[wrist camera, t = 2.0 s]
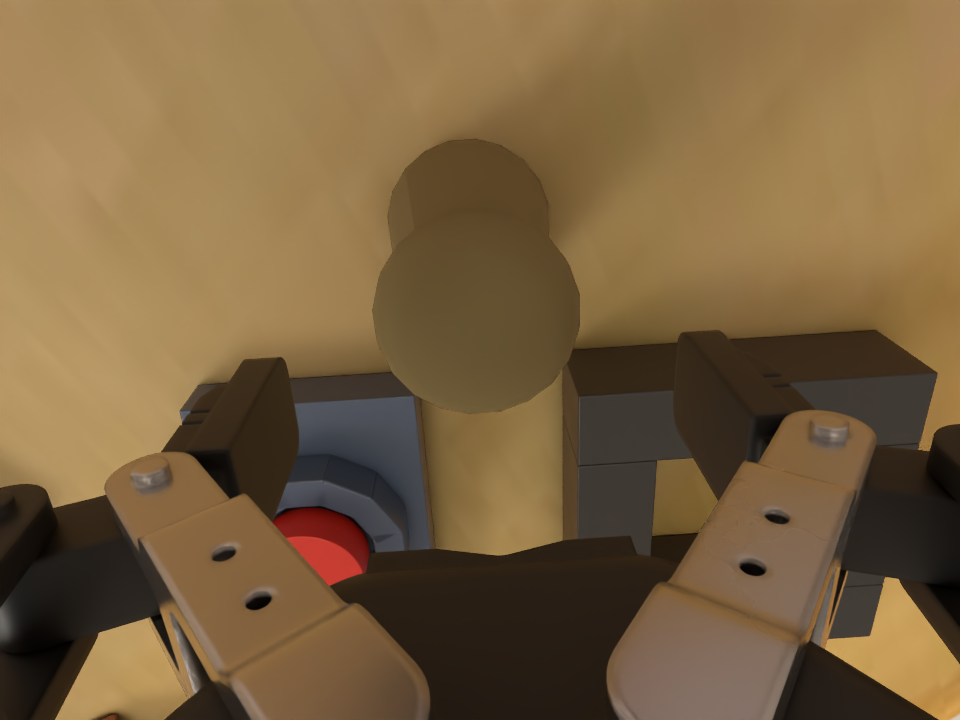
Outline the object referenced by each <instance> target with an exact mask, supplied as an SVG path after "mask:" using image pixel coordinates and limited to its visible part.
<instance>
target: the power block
mask: <svg viewBox="0 0 960 720" xmlns="http://www.w3.org/2000/svg"><path fill="white" fill-rule="evenodd" d="M224 384H228V383H224ZM290 384H291V390H292V395H293V400H294V405H295V411H296V416H297V421H298V427H299V451H298V455H297V458H296V461H295V464H294V466H293V469H292V472H291V474H290V477H289V480H288V482H287V485H286V488H285V490H284V493H283V496H282V498H281V501H280V504H279V506H278V509H277V512H276V514H275V517H274V518H276V517H277V516H279V515H281V514H283V513H285V512H287V511H290V510H293V509H298V508H305V507H315V508H323V509H328V510H332V511H335V512H337V513H340V514H342V515H344V516H345V517H347V518H349V519H350V520H351V521H353V522H354V523H355V524H356V525H357V526H358V527H359V528H360V529H361V530H362V532H363V533H364V535H365V537H366V539H367V541H368V544H369V549H370V553H377V552H392V551H407V550H422V549H435V540H434V531H433V521H432V511H431V502H430V492H429V483H428V473H427V463H426V454H425V444H424V434H423V425H422V415H421V405H420V397H418V396H416V395H414V394H413V393H412V392H411V391H410V390H409V389H408V388H407V387H406V386H405V385H404V384H403V383H402V382H401V381H400V380H399V379H398V378H397V377H396V376H395V375H394V374H393V373H378V374H363V375H348V376H332V377H317V378H301V379H290ZM218 385H219V384H209V385H198V386H197V388H196V389H195V390H194V392H193V393H192V395H191V396H190V397H189V399H188V400H187V401H186V403H185V404H184V406H183V407H182V408H181V410H180V415H181V419H182V422H183V421H184V419H185V418H186V416H187V415H188V414H190V411H191V409H192V408H193V406H194V405H195V404H196V402H197V401H198V399H199V398H200V397H201V396H203V395H204V394H206V393H207V392H209V391H210V390H212V389H213V388H215V387H216V386H218Z"/></svg>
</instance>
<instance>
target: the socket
mask: <svg viewBox="0 0 960 720" xmlns="http://www.w3.org/2000/svg"><path fill="white" fill-rule="evenodd" d="M730 342H731V343H732V344H733V345H734V346H735V347H736V348H737V349H738V350H739V351H740V352H746V351H747V352H749V353H752V354H754V355H756V356H758V357H760V358H762V359H764V360H766V361H768V362H769V363H770V364H771V365H772V366H773V367H774V368H775V369H776V370H777V371H778V372H779V373H780V374H781V377H782V376H783V377H784V378H785V379H786V380H787V381H788V382H789V383H790V384H791V387H794V388H795V389H796V390H797V391H798V392H799V393H800V394H801V395H802V396H803V397H804V398H805V399H806V400H807V401H808V402H809V403H810V404H811V405H812V406H813V407H814V408H815V409H816V410H824V411H831V412H837V413H840V414H844V415H847V416H850V417H853V418H855V419H857V420H859V421H861V422H863V423H865V424H866V425H867V426H869V427H870V428H871V429H872V430H873V431H874V433H875V434H876V437H877V441H876V445H880V446H886V447H894V448H903V449H912V450H918V447H919V443H920V440H921V437H922V433H923V429H924V425H925V421H926V417H927V413H928V410H929V406H930V402H931V398H932V394H933V390H934V386H935V383H936V379H937V375H938V374H937V372H936V371H934V370H933V369H931V368H930V367H928V366H927V365H926V364H924V363H923V362H921V361H920V360H918V359H917V358H916V357H914V356H913V355H911V354H910V353H908V352H907V351H905V350H904V349H903V348H901V347H900V346H898V345H897V344H895V343H894V342H893V341H891V340H890V339H888V338H887V337H885V336H884V335H883V334H881V333H880V332H878V331H876V330H875V331H859V332H844V333H828V334H813V335H797V336H782V337H767V338H751V339H736V340H730ZM676 355H677V343H674V344H658V345H643V346H627V347H612V348H596V349H581V350H572V352H571V355H570V358H569V361H568V362H567V363H566V365H565V366H564V367H563V541H564V540H571V539H586V538H601V537H616V536H631V538H632V541H633V544H634V547H635V549H636V552H637V554H640V555H647V556H652V557H657V558H661V559H665V560H668V561H672V562H675V563H678V564H680V563H681V561H682V560H683V558H684V556H685V555H686V553H687V551H688V550H689V548H690V547H691V545H692V543H693V542H694V540H695V539H696V537H697V535H698V534H689V535H674V536H659V537H652V526H653V511H654V497H655V482H656V467H657V461H656V460H671V459H686V458H693V457H692V455H691V453H690V451H689V450H688V448H687V446H686V445H685V443H684V441H683V439H682V438H681V436H680V434H679V432H678V430H677V428H676V424H675V420H674V413H673V396H674V382H675V368H676ZM884 579H885V577H884V576H878V575H872V574H865V573H859V572H853V571H848V574H847V578H846V582H845V585H844V588H843V592H842V595H841V598H840V601H839V604H838V608H837V611H836V614H835V617H834V621H833V624H832V627H831V630H830V634H829V637H828V639H835V638H849V637H864V636H870V634H871V630H872V626H873V622H874V618H875V614H876V610H877V607H878V603H879V599H880V595H881V591H882V587H883V582H884Z"/></svg>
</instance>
